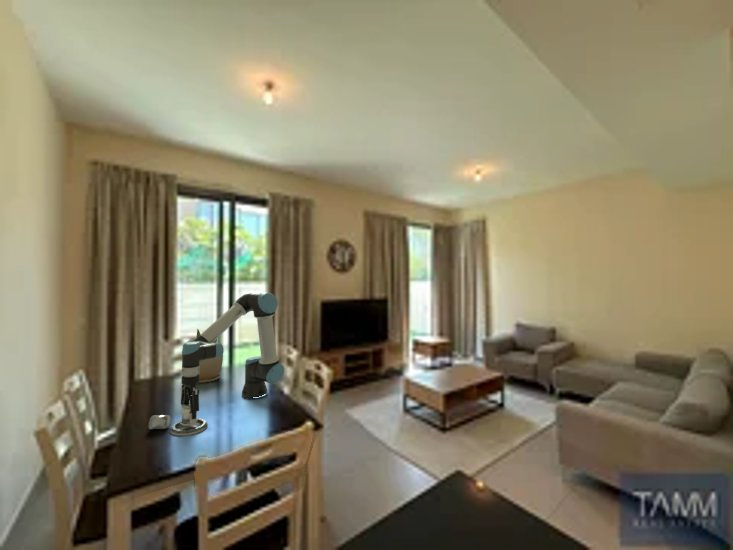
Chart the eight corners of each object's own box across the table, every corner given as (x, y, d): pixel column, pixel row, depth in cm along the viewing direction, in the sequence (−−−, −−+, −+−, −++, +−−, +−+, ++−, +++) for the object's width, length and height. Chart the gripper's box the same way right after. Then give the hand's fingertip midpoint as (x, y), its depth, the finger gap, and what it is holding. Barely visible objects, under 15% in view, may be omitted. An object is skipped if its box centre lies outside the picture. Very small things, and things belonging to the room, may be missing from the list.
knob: (193, 419, 171) (194, 400, 171) (200, 423, 166) (200, 404, 166) (178, 423, 165) (178, 404, 165) (184, 428, 161) (184, 408, 161)
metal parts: (212, 421, 174) (212, 408, 174) (199, 436, 158) (200, 422, 158) (160, 421, 172) (160, 409, 172) (142, 436, 156) (142, 423, 156)
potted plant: (187, 386, 226) (188, 325, 226) (189, 377, 245) (191, 320, 245) (222, 383, 234) (223, 323, 234) (221, 374, 254) (223, 319, 254)
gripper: (173, 372, 169) (172, 419, 169) (191, 381, 156) (190, 432, 156) (189, 369, 175) (188, 414, 175) (208, 377, 162) (206, 426, 162)
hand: (189, 422), depth 166 cm, fingers closed on knob, 7 cm apart
